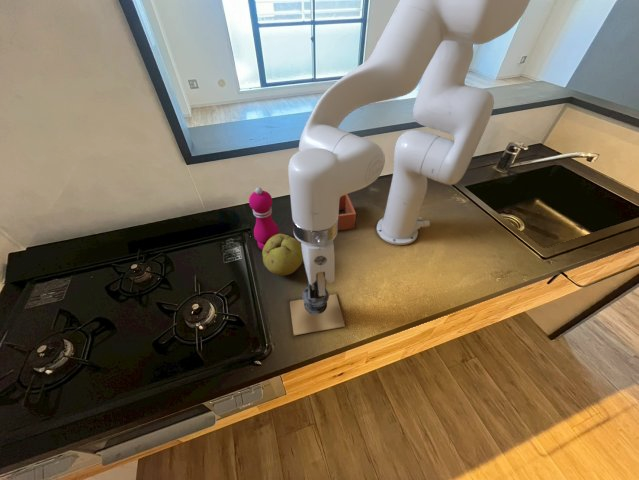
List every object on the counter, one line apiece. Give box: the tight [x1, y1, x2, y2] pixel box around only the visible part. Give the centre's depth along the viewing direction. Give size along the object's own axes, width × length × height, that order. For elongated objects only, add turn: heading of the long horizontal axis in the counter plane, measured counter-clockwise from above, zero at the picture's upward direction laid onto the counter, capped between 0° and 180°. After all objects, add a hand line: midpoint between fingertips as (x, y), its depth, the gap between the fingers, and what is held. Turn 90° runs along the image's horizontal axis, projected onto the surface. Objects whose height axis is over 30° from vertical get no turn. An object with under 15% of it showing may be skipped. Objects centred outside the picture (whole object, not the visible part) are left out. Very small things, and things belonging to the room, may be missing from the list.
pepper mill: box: [248, 186, 280, 251], centre depth 77 cm, size 7×7×20 cm
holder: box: [337, 194, 357, 232], centre depth 90 cm, size 11×11×6 cm
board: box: [289, 293, 346, 337], centre depth 67 cm, size 12×9×1 cm
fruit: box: [261, 233, 304, 277], centre depth 74 cm, size 11×12×10 cm
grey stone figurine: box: [301, 281, 330, 315], centre depth 60 cm, size 6×6×12 cm
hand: (315, 287), depth 59 cm, fingers closed on grey stone figurine, 3 cm apart
